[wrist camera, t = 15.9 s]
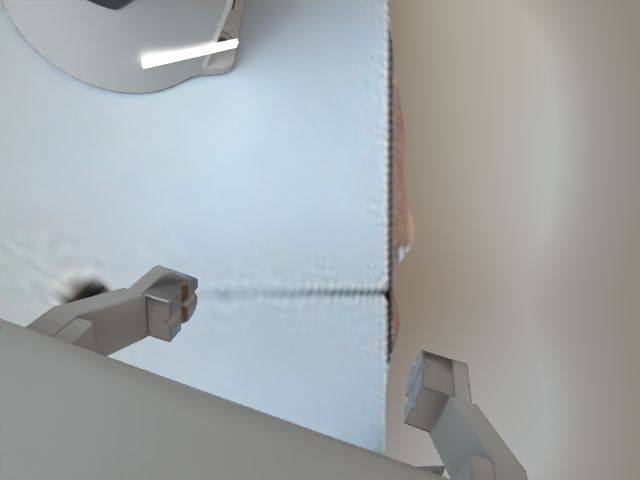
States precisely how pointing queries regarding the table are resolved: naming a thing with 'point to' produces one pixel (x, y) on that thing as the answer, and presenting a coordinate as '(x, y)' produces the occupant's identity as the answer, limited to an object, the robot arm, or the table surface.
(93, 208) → the table surface
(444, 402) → the robot arm
